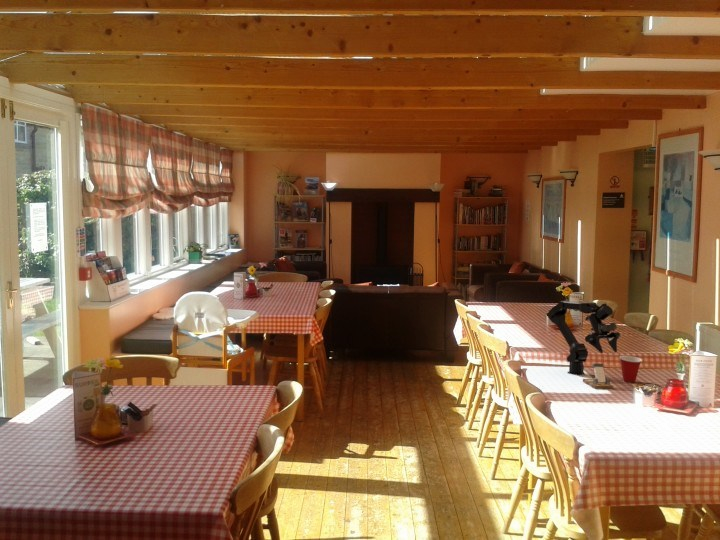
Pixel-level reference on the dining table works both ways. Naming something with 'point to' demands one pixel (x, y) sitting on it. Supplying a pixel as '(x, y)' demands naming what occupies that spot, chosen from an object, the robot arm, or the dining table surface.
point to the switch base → (597, 385)
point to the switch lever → (599, 373)
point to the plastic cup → (630, 367)
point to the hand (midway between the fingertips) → (609, 352)
